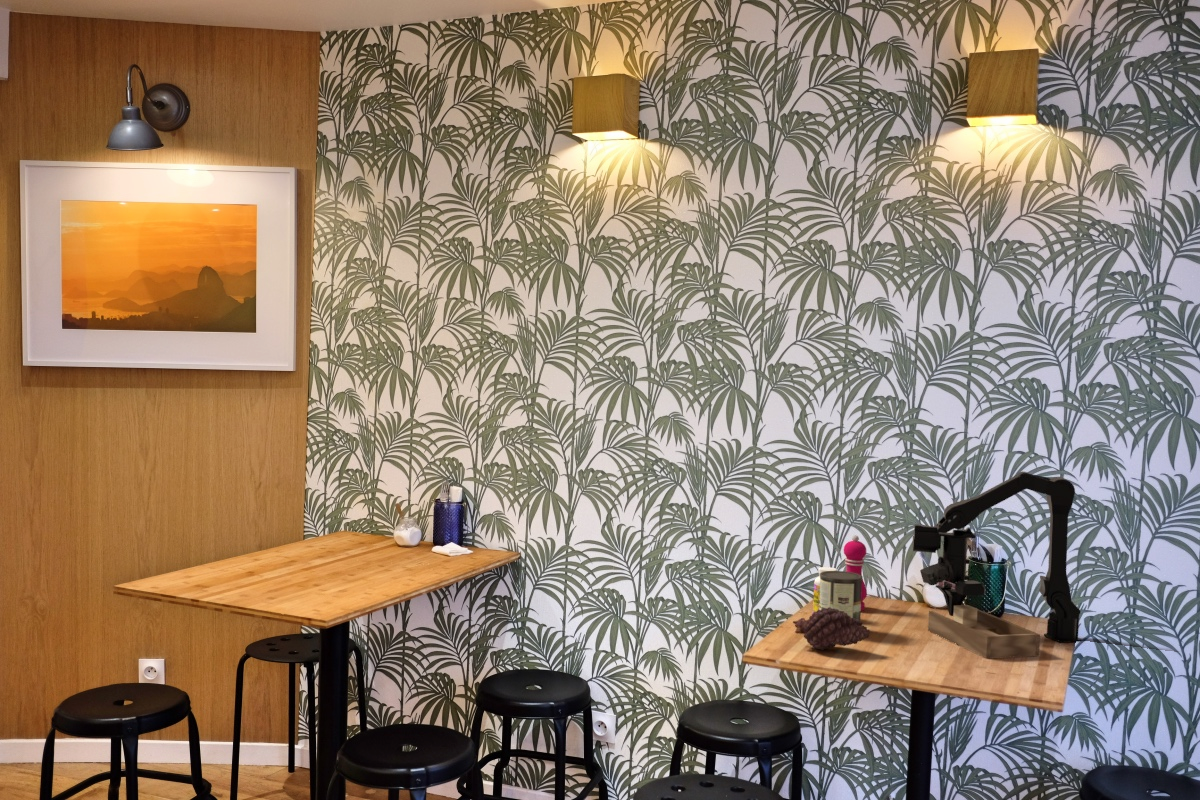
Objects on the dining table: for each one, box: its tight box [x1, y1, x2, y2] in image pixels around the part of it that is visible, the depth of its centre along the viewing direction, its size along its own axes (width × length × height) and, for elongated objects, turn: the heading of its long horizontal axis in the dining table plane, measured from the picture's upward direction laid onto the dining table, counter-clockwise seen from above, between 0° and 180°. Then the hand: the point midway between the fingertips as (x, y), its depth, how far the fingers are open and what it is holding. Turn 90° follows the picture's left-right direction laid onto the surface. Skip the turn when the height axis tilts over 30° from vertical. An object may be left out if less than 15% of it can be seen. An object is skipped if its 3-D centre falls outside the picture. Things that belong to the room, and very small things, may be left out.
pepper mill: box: [843, 534, 868, 612], centre depth 284 cm, size 7×7×20 cm
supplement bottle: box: [812, 566, 838, 614], centre depth 274 cm, size 7×7×13 cm
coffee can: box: [819, 570, 863, 621], centre depth 260 cm, size 10×10×14 cm
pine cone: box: [792, 607, 871, 652], centre depth 243 cm, size 18×10×10 cm, turn 72°
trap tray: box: [927, 609, 1041, 659], centre depth 254 cm, size 14×24×5 cm, turn 15°
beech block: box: [952, 604, 979, 627], centre depth 260 cm, size 4×4×4 cm
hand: (952, 615), depth 266 cm, fingers closed
